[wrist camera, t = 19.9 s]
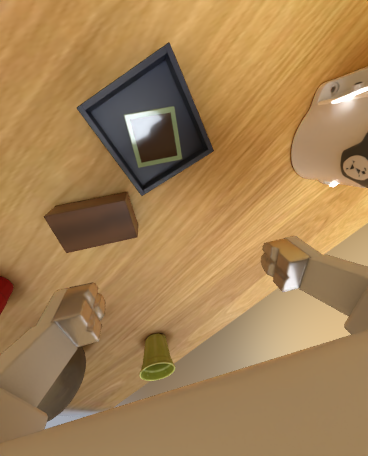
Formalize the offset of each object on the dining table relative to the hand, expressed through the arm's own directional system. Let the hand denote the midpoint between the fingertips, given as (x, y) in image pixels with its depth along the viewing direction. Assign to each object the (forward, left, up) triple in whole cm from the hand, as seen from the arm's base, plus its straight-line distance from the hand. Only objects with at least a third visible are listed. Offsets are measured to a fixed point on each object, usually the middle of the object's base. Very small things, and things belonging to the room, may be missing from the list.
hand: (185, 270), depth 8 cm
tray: (-3, -5, -25) cm, 25 cm away
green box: (-1, -1, -23) cm, 23 cm away
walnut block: (+13, +2, -25) cm, 28 cm away
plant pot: (+28, +42, -25) cm, 56 cm away
